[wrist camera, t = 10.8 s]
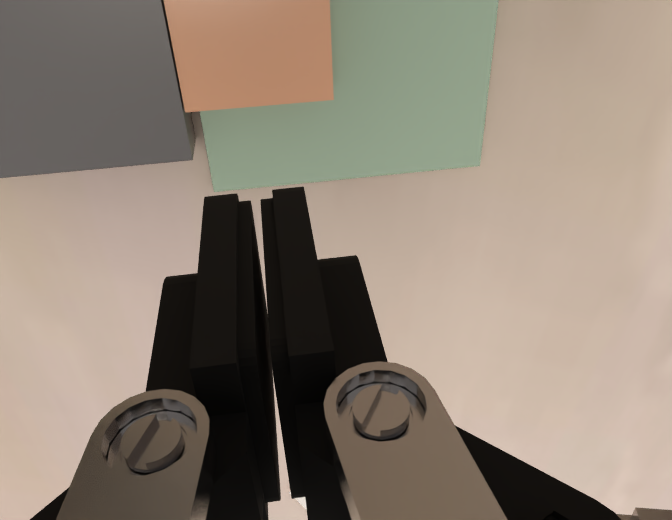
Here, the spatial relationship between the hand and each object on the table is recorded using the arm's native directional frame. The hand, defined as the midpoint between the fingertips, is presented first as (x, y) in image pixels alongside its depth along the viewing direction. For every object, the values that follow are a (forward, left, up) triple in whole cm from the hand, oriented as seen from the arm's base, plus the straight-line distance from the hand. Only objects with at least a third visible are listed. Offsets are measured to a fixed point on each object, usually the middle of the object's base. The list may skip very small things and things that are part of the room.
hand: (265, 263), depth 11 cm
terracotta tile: (+1, 0, -21) cm, 21 cm away
